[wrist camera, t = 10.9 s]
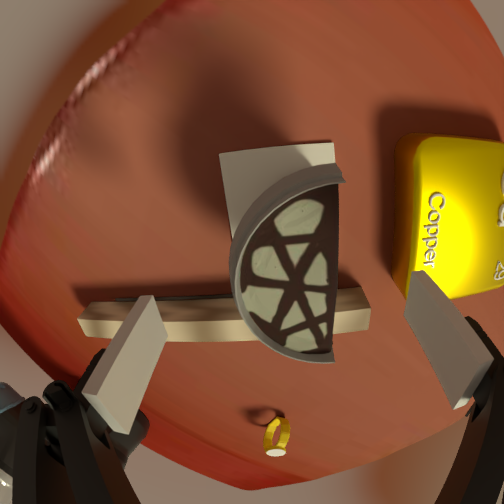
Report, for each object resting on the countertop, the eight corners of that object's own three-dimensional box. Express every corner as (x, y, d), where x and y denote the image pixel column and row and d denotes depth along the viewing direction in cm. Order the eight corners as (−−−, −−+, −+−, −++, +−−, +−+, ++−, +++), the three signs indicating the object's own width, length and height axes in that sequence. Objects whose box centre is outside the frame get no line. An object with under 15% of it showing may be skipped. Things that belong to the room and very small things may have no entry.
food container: (234, 155, 21) (204, 179, 12) (313, 149, 20) (345, 168, 11) (250, 290, 26) (239, 373, 17) (316, 286, 25) (334, 368, 16)
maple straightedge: (99, 318, 30) (86, 336, 27) (90, 298, 29) (75, 315, 26) (359, 307, 27) (367, 329, 23) (361, 282, 25) (371, 303, 22)
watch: (277, 409, 36) (277, 442, 30) (293, 413, 36) (295, 445, 31) (259, 427, 38) (258, 458, 32) (274, 431, 38) (275, 461, 33)
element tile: (390, 132, 20) (416, 135, 15) (504, 141, 18) (533, 149, 13) (387, 286, 26) (404, 315, 22) (490, 267, 24) (511, 288, 20)
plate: (242, 292, 27) (242, 294, 26) (219, 153, 21) (218, 153, 21) (336, 284, 26) (337, 286, 25) (332, 142, 20) (333, 142, 20)
